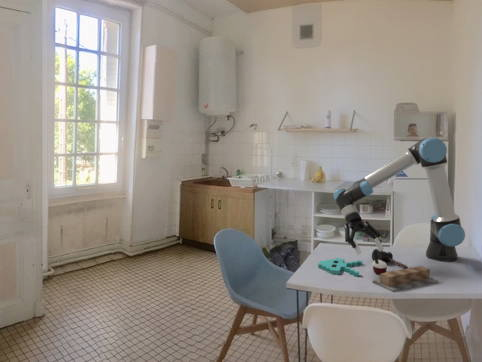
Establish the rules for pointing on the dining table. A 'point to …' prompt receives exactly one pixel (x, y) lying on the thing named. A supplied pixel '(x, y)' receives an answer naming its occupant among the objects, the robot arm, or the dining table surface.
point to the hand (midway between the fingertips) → (370, 251)
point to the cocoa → (378, 265)
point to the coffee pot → (387, 257)
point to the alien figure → (339, 266)
